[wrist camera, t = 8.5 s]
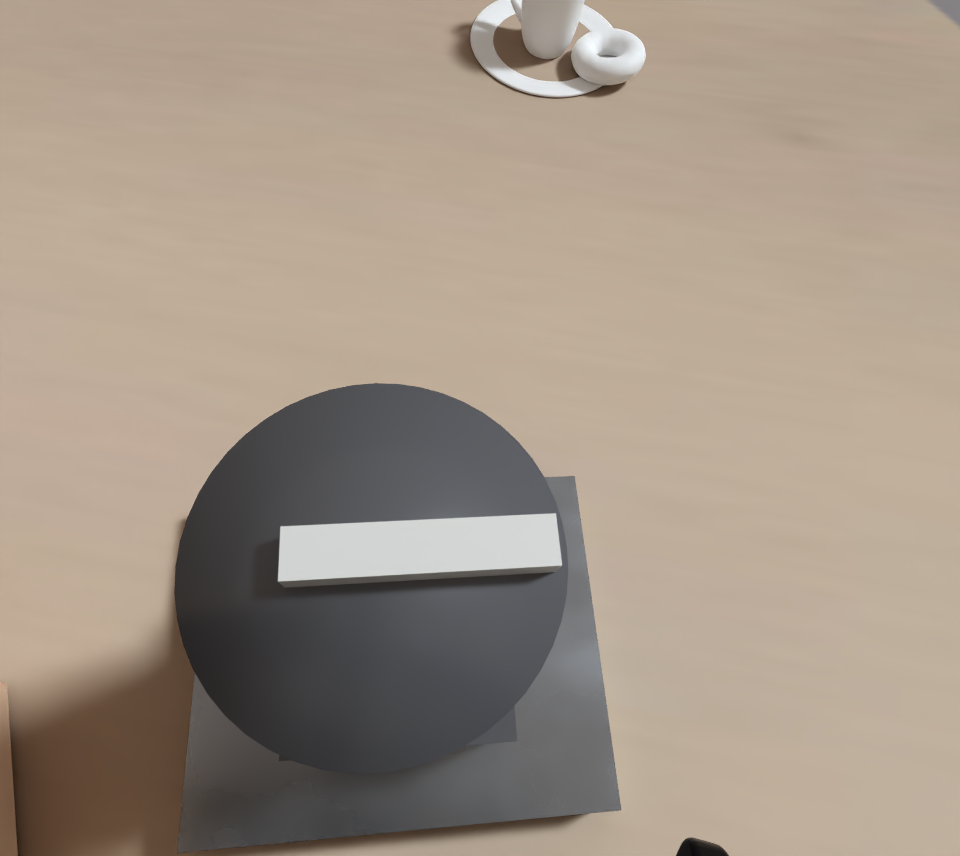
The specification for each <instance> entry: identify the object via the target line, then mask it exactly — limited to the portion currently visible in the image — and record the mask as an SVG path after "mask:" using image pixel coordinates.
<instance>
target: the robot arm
mask: <svg viewBox="0 0 960 856" xmlns="http://www.w3.org/2000/svg"><path fill="white" fill-rule="evenodd" d="M676 856H729V855H728V854H727V852H726V851H725V850H724V849H723V848H722V847H721V846H719V845H717V844H714V843H710V842H707V841H703V840H699V839H696V838H687V839H685V840H684V841H683V843H682V844H681V846H680V848H679V850H678V852H677V855H676Z"/></svg>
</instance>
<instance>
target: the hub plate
mask: <svg viewBox="0 0 960 856" xmlns="http://www.w3.org/2000/svg"><path fill="white" fill-rule="evenodd" d="M544 478H545V480H546V482H547V484H548V486H549V488H550V490H551V492H552V494H553V496H554V498H555V501H556V504H557V507H558V510H559V513H560V516H561V519H562V523H563V528H564V533H565V538H566V544H567V555H568V584H567V597H566V602H565V606H564V611H563V616H562V621H561V624H560V627H559V630H558V633H557V636H556V639H555V642H554V645H553V647H552V649H551V651H550V653H549V655H548V657H547V659H546V661H545V663H544V665H543V667H542V669H541V671H540V672H539V674H538V675H537V677H536V678H535V680H534V681H533V683H532V684H531V686H530V687H529V689H528V690H527V692H526V693H525V694H524V695H523V697H522V698H521V699H520V700H519V701H518V702H517V703H516V704H515V706H514V707H515V719H516V731H517V741H516V742H504V743H492V744H480V745H468V746H464V747H463V748H461V749H458V750H456V751H454V752H452V753H450V754H448V755H446V756H444V757H442V758H439V759H437V760H435V761H431V762H428V763H425V764H422V765H419V766H415V767H412V768H409V769H403V770H397V771H391V772H385V773H364V774H349V773H342V772H334V771H327V770H321V769H317V768H314V767H311V766H307V765H304V764H300V763H297V762H294V761H292V760H290V761H279V754H277V753H274V752H272V751H270V750H268V749H267V748H265V747H264V746H262V745H261V744H259V743H258V742H256V741H255V740H253V739H252V738H250V737H249V736H247V735H246V734H244V733H243V732H242V731H241V730H240V729H239V728H238V727H237V726H236V725H235V724H233V723H232V722H231V721H230V720H229V719H228V718H227V717H226V716H225V715H224V714H223V713H222V711H221V710H220V709H219V708H218V707H217V705H216V704H215V703H214V702H213V700H212V699H211V698H210V697H209V695H208V694H207V692H206V691H205V689H204V687H203V686H202V684H201V682H200V681H199V679H198V677H197V675H196V674H194V685H193V695H192V705H191V715H190V725H189V736H188V746H187V756H186V766H185V776H184V787H183V797H182V807H181V817H180V827H179V838H178V848H177V853H183V852H193V851H203V850H214V849H224V848H234V847H245V846H255V845H266V844H276V843H286V842H297V841H307V840H317V839H328V838H338V837H349V836H359V835H369V834H380V833H390V832H400V831H411V830H421V829H432V828H442V827H452V826H463V825H473V824H483V823H494V822H504V821H515V820H525V819H535V818H546V817H556V816H566V815H577V814H587V813H598V812H608V811H618V810H621V804H620V797H619V790H618V783H617V776H616V769H615V762H614V754H613V747H612V740H611V733H610V726H609V719H608V712H607V705H606V697H605V690H604V683H603V676H602V669H601V662H600V654H599V647H598V640H597V633H596V626H595V619H594V612H593V604H592V597H591V590H590V583H589V576H588V569H587V562H586V554H585V547H584V540H583V533H582V526H581V519H580V512H579V504H578V497H577V490H576V483H575V476H566V477H544Z"/></svg>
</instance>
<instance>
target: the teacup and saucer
mask: <svg viewBox="0 0 960 856" xmlns="http://www.w3.org/2000/svg"><path fill="white" fill-rule="evenodd" d="M584 1H585V0H498V1H496V2H494V3H492V4H490V5H489V6H487V7H486V8H485V9H484V10H483V11H482V12H481V13H480V14H479V15H478V16H477V18H476V19H475V21H474V23H473V25H472V28H471V33H470V42H471V47H472V50H473V53H474V55H475V57H476V59H477V60H478V62H479V63H480V64H481V66H482V67H483V68H484V69H485V70H486V71H487V72H488V73H489V74H490V75H492V76H493V77H494V78H496V79H497V80H499V81H500V82H502V83H504V84H505V85H507V86H509V87H511V88H514V89H516V90H519V91H522V92H525V93H528V94H532V95H537V96H544V97H571V96H577V95H582V94H585V93H588V92H591V91H594V90H596V89H598V88H600V87H601V86H603V85H615V84H620V83H623V82H626V81H628V80H630V79H631V78H633V77H634V76H635V75H636V74H637V73H638V72H639V71H640V69H641V68H642V66H643V63H644V61H645V56H646V54H645V48H644V46H643V43H642V42H641V40H640V39H639V38H637V37H636V36H635V35H633V34H632V33H630V32H627V31H625V30H621V29H615V28H613V27H612V26H611V25H610V23H609V22H608V21H607V20H606V19H605V18H604V17H602V16H601V15H600V14H599V13H597V12H596V11H594V10H593V9H591V8H589V7H588V6H586V5H584ZM513 14H516V15H517V17H518V19H519V21H520V23H521V27H522V37H523V41H524V45H525V47H526V49H527V51H528V52H529V53H530V54H532V55H533V56H535V57H538V58H541V59H554V58H557V57H559V56H561V55H562V54H563V53H564V51H565V50H566V49H567V47H568V46H569V44H570V42H571V40H572V38H573V36H574V33H575V30H576V28H577V25H578V22H581V23H582V24H583V25H585V26H586V27H587V28H588V29H589V30H590V31H591V32H589V33H587V34H585V35H584V36H582V37H581V38H580V39H579V40H578V41H577V42H576V44H575V45H574V47H573V49H572V53H571V60H572V64H573V67H574V69H575V71H576V72H577V74H578V75H579V76H580V77H578V78H575V79H572V80H568V81H561V82H548V81H540V80H536V79H532V78H529V77H526V76H523V75H521V74H519V73H517V72H515V71H514V70H512V69H511V68H509V67H508V66H507V65H506V64H505V63H504V62H503V61H502V60H501V59H500V58H499V56H498V55H497V53H496V51H495V48H494V44H493V37H494V33H495V30H496V28H497V27H498V25H499V24H500V23H501V22H502V21H503V20H504V19H506V18H507V17H509V16H511V15H513Z"/></svg>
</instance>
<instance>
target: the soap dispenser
mask: <svg viewBox="0 0 960 856" xmlns="http://www.w3.org/2000/svg"><path fill="white" fill-rule="evenodd" d="M0 856H18V852H17V836H16V820H15V804H14V787H13V771H12V755H11V739H10V723H9V707H8V691H7V685H6V684H5V683H2V682H0Z"/></svg>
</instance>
